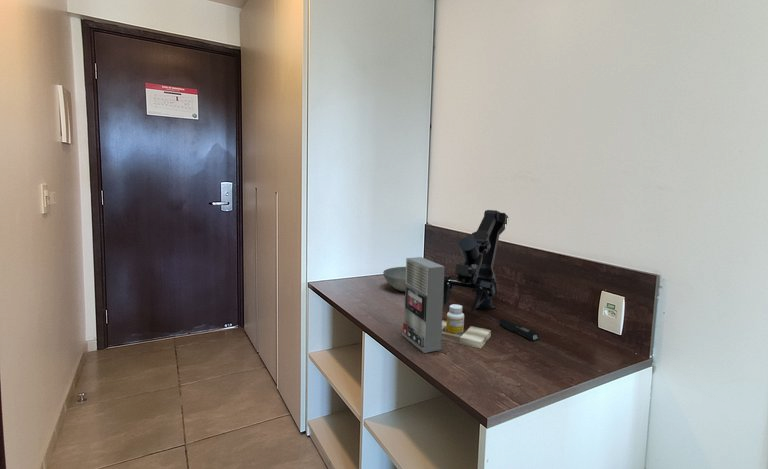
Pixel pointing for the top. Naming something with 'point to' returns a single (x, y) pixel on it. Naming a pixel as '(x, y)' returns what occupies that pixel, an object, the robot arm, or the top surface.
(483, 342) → the notched board
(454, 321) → the supplement bottle
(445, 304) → the robot arm
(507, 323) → the electric trimmer
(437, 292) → the cassette tape recorder
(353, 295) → the top surface
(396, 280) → the bowl
